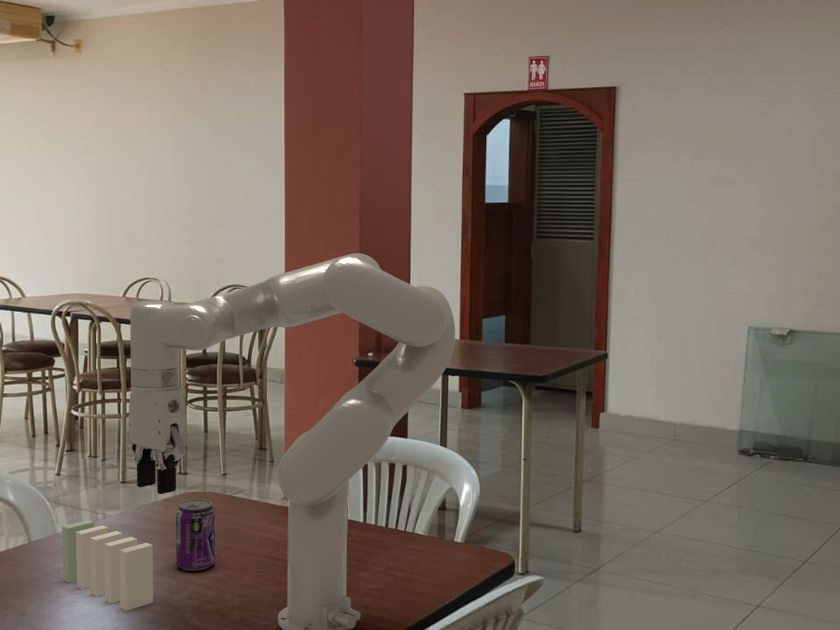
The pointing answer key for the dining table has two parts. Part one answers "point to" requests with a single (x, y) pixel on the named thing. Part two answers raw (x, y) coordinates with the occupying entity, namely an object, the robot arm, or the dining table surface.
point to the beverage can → (195, 535)
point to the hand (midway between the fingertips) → (156, 487)
